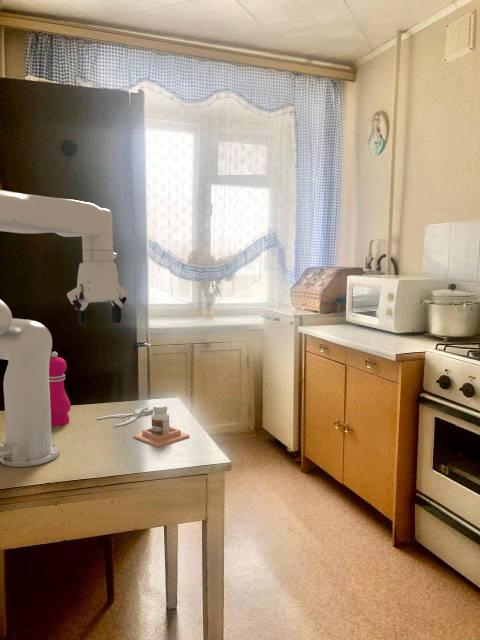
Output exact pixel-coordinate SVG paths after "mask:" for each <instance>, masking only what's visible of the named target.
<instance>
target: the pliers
mask: <svg viewBox="0 0 480 640" xmlns="http://www.w3.org/2000/svg"><path fill="white" fill-rule="evenodd" d="M153 413H154V410H153V408H150V409H149V407H148V406H144V407H142V408H137V409H135V410H133V412H132V413H118V414H117V413H116V414H115V413H114V414H109V415H104V416H101V417H97V418H96V421H100V420H105V419H110V418H118V419H123V418H125V421H123V422H121V423H118V424H115V425H113V427H114V428H118V427H122V426H126V425H128V424H129V425H130V424H131V423H133V422H135V421H136V420H137V419H138V418H139V417H143V416H148V415H152V414H153ZM129 417H131V418H130V419H129Z"/></svg>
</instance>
